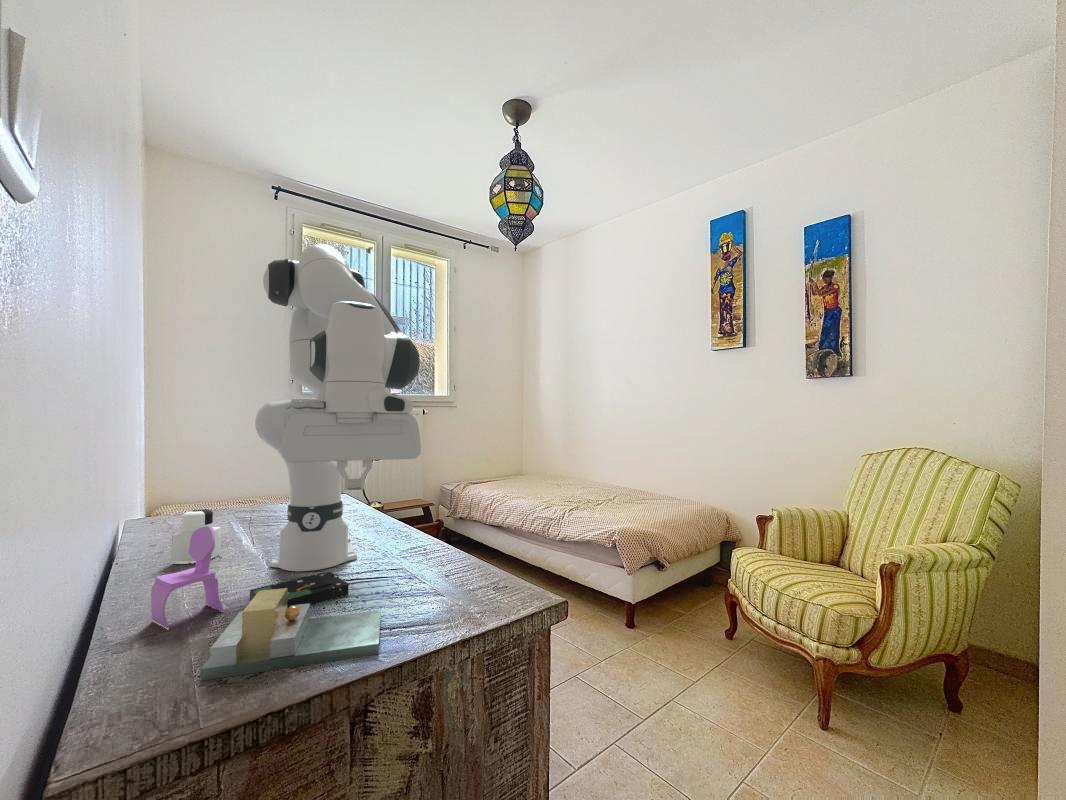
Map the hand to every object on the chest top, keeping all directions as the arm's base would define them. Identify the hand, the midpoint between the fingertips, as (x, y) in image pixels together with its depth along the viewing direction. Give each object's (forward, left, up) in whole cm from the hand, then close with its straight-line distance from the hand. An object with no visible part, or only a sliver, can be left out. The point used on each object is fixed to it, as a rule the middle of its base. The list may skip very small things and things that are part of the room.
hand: (354, 489), depth 70 cm
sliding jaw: (0, -8, -22) cm, 23 cm away
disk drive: (-21, -11, -24) cm, 33 cm away
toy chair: (-17, -28, -23) cm, 40 cm away
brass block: (0, -12, -22) cm, 25 cm away
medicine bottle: (-54, -40, -23) cm, 71 cm away
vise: (0, -7, -23) cm, 24 cm away
